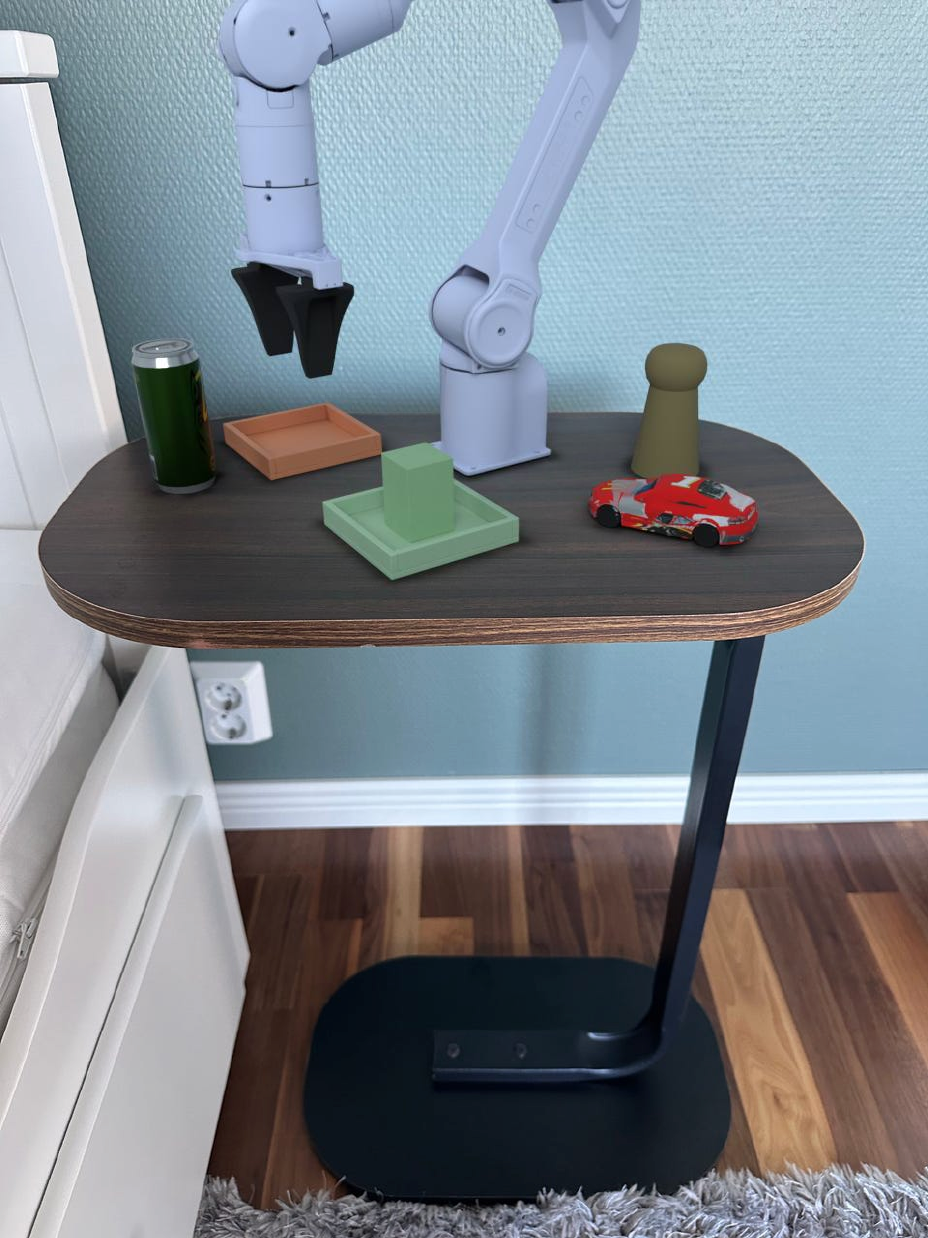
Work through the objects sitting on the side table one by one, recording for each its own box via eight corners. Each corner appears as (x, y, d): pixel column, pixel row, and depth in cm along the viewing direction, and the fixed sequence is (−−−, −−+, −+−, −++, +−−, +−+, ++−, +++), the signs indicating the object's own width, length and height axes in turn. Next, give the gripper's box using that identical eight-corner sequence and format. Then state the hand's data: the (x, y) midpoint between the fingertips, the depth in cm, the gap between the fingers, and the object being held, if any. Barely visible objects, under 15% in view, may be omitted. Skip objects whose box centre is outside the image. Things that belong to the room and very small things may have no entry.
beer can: (167, 500, 80) (140, 359, 74) (147, 480, 84) (120, 344, 78) (227, 486, 83) (206, 348, 76) (205, 466, 86) (184, 334, 80)
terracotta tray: (330, 420, 97) (328, 401, 96) (382, 454, 89) (381, 433, 88) (225, 442, 92) (222, 423, 91) (271, 480, 84) (268, 459, 83)
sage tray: (442, 492, 81) (442, 470, 80) (519, 541, 73) (519, 517, 72) (324, 524, 76) (321, 501, 75) (392, 580, 68) (390, 555, 67)
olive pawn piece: (683, 487, 81) (699, 359, 76) (619, 472, 84) (629, 349, 79) (709, 464, 86) (725, 342, 80) (647, 451, 89) (658, 332, 83)
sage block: (428, 512, 76) (426, 441, 73) (454, 530, 73) (453, 457, 70) (384, 524, 75) (380, 452, 71) (410, 543, 72) (406, 469, 69)
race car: (577, 523, 76) (579, 476, 74) (602, 498, 80) (605, 453, 78) (742, 557, 70) (749, 508, 68) (760, 529, 74) (768, 482, 72)
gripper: (195, 178, 74) (219, 351, 81) (270, 198, 64) (290, 395, 71) (278, 171, 77) (295, 339, 84) (363, 190, 67) (373, 379, 74)
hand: (298, 364), depth 78 cm, fingers open, 7 cm apart
